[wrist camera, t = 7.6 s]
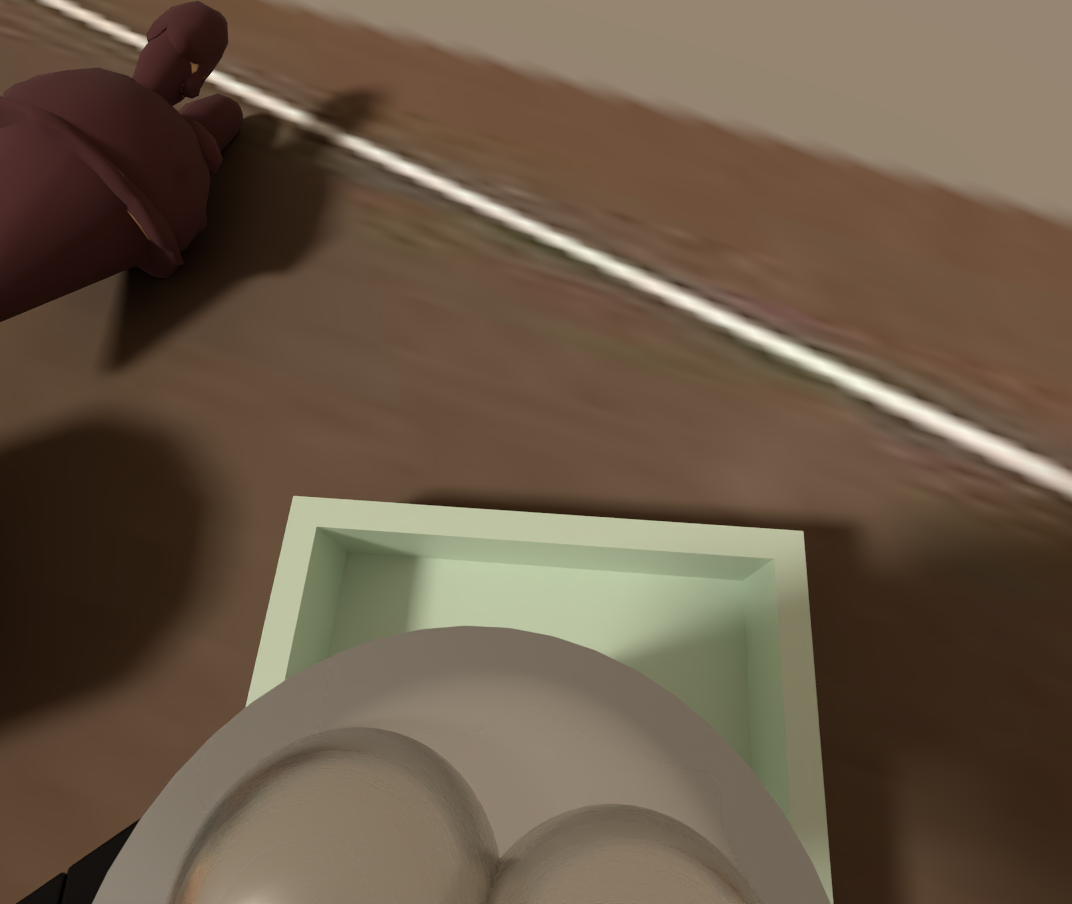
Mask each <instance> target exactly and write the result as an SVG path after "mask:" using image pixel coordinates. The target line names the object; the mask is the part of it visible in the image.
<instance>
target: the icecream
mask: <svg viewBox="0 0 1072 904" xmlns="http://www.w3.org/2000/svg"><path fill="white" fill-rule="evenodd" d="M146 35H147V40H148V44H147V45H146V46H145V48H144V49H143V50H142V51H141V54H140V57H139V60H138V63H137V66H136V69H135V72H134V75H133V78H130V77H129V76H126V75H122V74H119V73H115V72H112V71H108V70H105V69H101V68H90V69H78V70H66V71H60V72H54V73H48V74H42V75H37V76H35V77H33V78H31V79H29V80H27V81H24V82H20V83H17V84H14V85H13V86H12V87H10V88H9V89H7V90H6V91H5V92H4V94H3V97H0V322H2V321H4V320H6V319H9V318H11V317H14V316H16V315H19V314H21V313H23V312H26V311H28V310H31V309H33V308H35V307H38V306H40V305H43V304H45V303H47V302H50V301H52V300H55V299H57V298H59V297H62V296H64V295H67V294H69V293H72V292H74V291H76V290H79V289H81V288H84V287H86V286H88V285H91V284H93V283H96V282H98V281H100V280H103V279H105V278H108V277H110V276H112V275H115V274H117V273H120V272H122V271H124V270H127V269H129V268H132V267H134V266H136V267H138V268H140V269H141V270H143V271H144V272H146V273H147V274H149V275H152V276H154V277H157V278H169V277H171V276H172V274H173V273H174V272H175V270H176V269H177V267H178V266H181V265H183V264H184V263H183V258H182V256H181V254H180V252H182V251H184V250H185V249H186V248H187V247H188V245H189V244H190V243H191V242H192V240H193V239H194V238H195V236H196V235H197V234H198V233H199V232H201V231H202V230H204V229H205V228H206V226H207V219H208V216H207V212H206V205H207V200H208V194H209V188H210V181H211V180H210V175H213V174H217V171H218V169H219V167H220V165H221V162H222V160H223V158H222V155H221V152H222V150H223V149H224V148H225V147H226V146H227V145H228V144H229V143H230V141H231V140H232V139H233V138H234V137H235V136H236V135H237V134H238V132H239V130H240V127H241V124H242V120H243V114H242V110H241V108H240V106H239V104H238V103H237V102H236V101H234V100H232V99H231V98H229V97H226V96H223V95H221V94H215V95H212V96H209V97H206V98H203V99H200V100H196V101H193V102H190V103H187V104H185V105H184V106H183V107H182V108H181V109H180V110H179V111H177V110H176V109H175V108H173V107H172V106H173V105H175V104H177V103H179V102H181V101H182V100H183V99H184V98H185V97H189V98H194V97H196V96H199V92H200V88H201V87H202V85H203V83H204V81H205V80H206V78H207V77H208V76H209V75H210V74H211V72H212V71H213V69H214V68H215V67H216V65H217V64H218V62H219V61H220V59H221V57H222V55H223V53H224V51H225V49H226V46H227V44H228V31H227V22H226V20H225V18H224V17H223V15H222V14H221V13H220V12H218V11H216V10H214V9H212V8H210V7H209V6H207V5H205V4H203V3H201V2H199V1H195V2H188V3H184V4H180V5H177V6H173V7H171V8H170V9H169V10H167V11H166V12H165V13H164V14H162V15H161V16H160V17H159V18H158V19H157V20H156V21H154V22H153V24H152V26H151V27H150V29H149V31H148V32H147V34H146Z"/></svg>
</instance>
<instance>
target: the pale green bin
mask: <svg viewBox="0 0 1072 904" xmlns="http://www.w3.org/2000/svg"><path fill="white" fill-rule="evenodd" d="M454 626H483V627H503V628H513V629H518V630H523V631H529V632H534V633H539V634H545V635H550V636H554V637H557V638H560V639H563V640H566V641H569V642H572V643H575V644H578V645H581V646H584V647H587V648H590V649H593V650H596V651H598V652H600V653H602V654H604V655H606V656H608V657H610V658H612V659H614V660H616V661H619V662H621V663H623V664H625V665H627V666H629V667H631V668H633V669H635V670H637V671H638V672H640V673H641V674H643V675H645V676H646V677H648V678H649V679H651V680H652V681H654V682H655V683H657V684H658V685H660V686H661V687H663V688H664V689H666V690H667V691H669V692H671V693H672V694H674V695H675V696H677V697H678V698H679V699H680V700H681V701H682V702H684V703H685V704H686V705H687V706H688V707H690V708H691V709H692V710H693V711H694V712H695V713H697V714H698V715H699V716H700V717H701V718H703V719H704V720H705V721H706V722H707V723H708V724H710V725H711V726H712V727H713V728H714V729H715V730H716V731H717V732H718V733H719V734H720V735H721V736H722V737H723V738H724V739H725V740H726V742H727V743H728V744H729V745H730V746H731V747H732V748H733V749H734V750H735V751H736V752H737V753H738V754H739V756H740V757H741V758H742V759H743V760H744V761H745V762H746V763H747V764H748V765H749V766H750V767H751V769H752V770H753V772H754V773H755V774H756V776H757V777H758V778H759V780H760V781H761V782H762V784H763V785H764V786H765V788H766V789H767V791H768V792H769V793H770V795H771V796H772V797H773V799H774V800H775V801H776V803H777V804H778V805H779V807H780V808H781V810H782V811H783V812H784V814H785V816H786V818H787V819H788V821H789V823H790V825H791V826H792V828H793V830H794V831H795V833H796V835H797V837H798V838H799V840H800V842H801V844H802V845H803V847H804V849H805V850H806V852H807V854H808V856H809V857H810V859H811V861H812V863H813V865H814V867H815V869H816V872H817V874H818V876H819V878H820V881H821V883H822V885H823V887H824V889H825V892H826V894H827V896H828V898H829V901H830V903H831V904H833V892H832V880H831V867H830V855H829V843H828V830H827V818H826V805H825V793H824V781H823V768H822V756H821V743H820V731H819V719H818V706H817V694H816V681H815V669H814V657H813V644H812V632H811V619H810V607H809V595H808V582H807V570H806V557H805V545H804V532H803V531H796V530H781V529H767V528H752V527H738V526H723V525H709V524H694V523H679V522H665V521H650V520H636V519H621V518H607V517H592V516H578V515H563V514H549V513H534V512H520V511H505V510H491V509H476V508H462V507H447V506H432V505H418V504H403V503H389V502H374V501H360V500H345V499H331V498H316V497H302V496H293V500H292V504H291V509H290V513H289V518H288V522H287V526H286V531H285V535H284V540H283V544H282V549H281V553H280V557H279V562H278V566H277V571H276V575H275V579H274V584H273V588H272V593H271V597H270V602H269V606H268V610H267V615H266V619H265V624H264V628H263V633H262V637H261V641H260V646H259V650H258V655H257V659H256V664H255V668H254V672H253V677H252V681H251V686H250V690H249V694H248V699H247V703H246V707H247V706H248V705H249V704H250V703H252V702H253V701H255V700H256V699H258V698H259V697H261V696H262V695H264V694H265V693H267V692H268V691H270V690H271V689H273V688H274V687H276V686H277V685H279V684H280V683H282V682H283V681H285V680H286V679H288V678H289V677H291V676H292V675H294V674H296V673H298V672H300V671H302V670H304V669H306V668H308V667H310V666H312V665H314V664H316V663H318V662H320V661H322V660H324V659H326V658H328V657H330V656H332V655H334V654H337V653H339V652H342V651H345V650H348V649H351V648H353V647H356V646H359V645H362V644H365V643H367V642H370V641H373V640H376V639H379V638H384V637H388V636H393V635H397V634H402V633H407V632H411V631H416V630H420V629H430V628H442V627H454Z"/></svg>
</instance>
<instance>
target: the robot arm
mask: <svg viewBox="0 0 1072 904" xmlns="http://www.w3.org/2000/svg"><path fill="white" fill-rule="evenodd" d="M140 819H141V818H140ZM140 819H139V820H137V821H136V822H134V823H133V824H131V825H130V826H129V827H127V828H126V829H124V830H123V831H121V832H120V833H118V834H117V835H116V836H114V837H113V838H111V839H110V840H108V841H107V842H105V843H104V844H102V845H101V846H100V847H98V848H97V849H95V850H94V851H92V852H91V853H89V854H88V855H87V856H85V857H84V858H82V859H81V860H79V861H78V862H76V863H75V864H73V865H72V866H71V867H70V868H69V869H68V872H67V874H66V873H60V874H59V875H57V876H56V877H54V878H53V879H51V880H50V881H48V882H47V883H46V884H44V885H43V886H41V887H40V888H38V889H37V890H35V891H34V892H32V893H31V894H30V895H28V896H27V897H25V898H24V899H22V900H21V901H19V902H18V903H16V904H92V903H93V901H94V899H95V897H96V895H97V892H98V890H99V888H100V886H101V884H102V882H103V880H104V878H105V876H106V874H107V872H108V870H109V869H110V867H111V866H112V864H113V862H114V861H115V859H116V858H117V856H118V854H119V853H120V851H121V850H122V848H123V846H124V845H125V843H126V841H127V840H128V838H129V837H130V835H131V833H132V832H133V830H134V829H135V827H136V825H137V824H138V822H139V821H140Z"/></svg>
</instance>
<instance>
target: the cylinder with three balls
mask: <svg viewBox="0 0 1072 904" xmlns="http://www.w3.org/2000/svg"><path fill="white" fill-rule="evenodd" d="M92 904H831V903H830V901H829V898H828V896H827V894H826V892H825V889H824V887H823V885H822V883H821V881H820V878H819V876H818V874H817V872H816V869H815V867H814V865H813V863H812V861H811V859H810V857H809V856H808V854H807V852H806V850H805V849H804V847H803V845H802V844H801V842H800V840H799V838H798V837H797V835H796V833H795V831H794V830H793V828H792V826H791V825H790V823H789V821H788V819H787V818H786V816H785V814H784V812H783V811H782V810H781V808H780V807H779V805H778V804H777V803H776V801H775V800H774V799H773V797H772V796H771V795H770V793H769V792H768V791H767V789H766V788H765V786H764V785H763V784H762V782H761V781H760V780H759V778H758V777H757V776H756V774H755V773H754V772H753V770H752V769H751V767H750V766H749V765H748V764H747V763H746V762H745V761H744V760H743V759H742V758H741V757H740V756H739V754H738V753H737V752H736V751H735V750H734V749H733V748H732V747H731V746H730V745H729V744H728V743H727V742H726V740H725V739H724V738H723V737H722V736H721V735H720V734H719V733H718V732H717V731H716V730H715V729H714V728H713V727H712V726H711V725H710V724H708V723H707V722H706V721H705V720H704V719H703V718H701V717H700V716H699V715H698V714H697V713H695V712H694V711H693V710H692V709H691V708H690V707H688V706H687V705H686V704H685V703H684V702H682V701H681V700H680V699H679V698H678V697H677V696H675V695H674V694H672V693H671V692H669V691H667V690H666V689H664V688H663V687H661V686H660V685H658V684H657V683H655V682H654V681H652V680H651V679H649V678H648V677H646V676H645V675H643V674H641V673H640V672H638V671H637V670H635V669H633V668H631V667H629V666H627V665H625V664H623V663H621V662H619V661H616V660H614V659H612V658H610V657H608V656H606V655H604V654H602V653H600V652H598V651H596V650H593V649H590V648H587V647H584V646H581V645H578V644H575V643H572V642H569V641H566V640H563V639H560V638H557V637H554V636H550V635H545V634H539V633H534V632H529V631H523V630H518V629H513V628H503V627H483V626H454V627H442V628H430V629H420V630H416V631H411V632H407V633H402V634H397V635H393V636H388V637H384V638H379V639H376V640H373V641H370V642H367V643H365V644H362V645H359V646H356V647H353V648H351V649H348V650H345V651H342V652H339V653H337V654H334V655H332V656H330V657H328V658H326V659H324V660H322V661H320V662H318V663H316V664H314V665H312V666H310V667H308V668H306V669H304V670H302V671H300V672H298V673H296V674H294V675H292V676H291V677H289V678H288V679H286V680H285V681H283V682H282V683H280V684H279V685H277V686H276V687H274V688H273V689H271V690H270V691H268V692H267V693H265V694H264V695H262V696H261V697H259V698H258V699H256V700H255V701H253V702H252V703H250V704H249V705H248V706H247V707H246V708H245V709H243V710H242V711H241V712H240V713H239V714H237V715H236V716H235V717H234V718H233V719H231V720H230V721H229V722H228V723H227V724H226V725H224V726H223V727H222V728H221V729H220V730H218V731H217V732H216V733H215V734H214V735H212V736H211V737H210V738H209V740H208V741H207V742H206V743H205V744H204V745H203V746H202V747H201V748H200V749H199V750H198V751H197V752H196V753H195V754H194V755H193V756H192V757H191V758H190V759H189V761H188V762H187V763H186V764H185V765H184V766H183V767H182V768H181V769H180V770H179V771H178V772H177V773H176V774H175V775H174V776H173V778H172V779H171V780H170V782H169V783H168V784H167V786H166V787H165V788H164V789H163V791H162V792H161V793H160V795H159V796H158V797H157V798H156V800H155V801H154V802H153V804H152V805H151V806H150V808H149V809H148V810H147V811H146V813H145V814H144V815H143V817H142V818H141V819H140V821H139V822H138V824H137V825H136V827H135V829H134V830H133V832H132V833H131V835H130V837H129V838H128V840H127V841H126V843H125V845H124V846H123V848H122V850H121V851H120V853H119V854H118V856H117V858H116V859H115V861H114V862H113V864H112V866H111V867H110V869H109V870H108V872H107V874H106V876H105V878H104V880H103V882H102V884H101V886H100V888H99V890H98V892H97V895H96V897H95V899H94V901H93V903H92Z"/></svg>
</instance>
